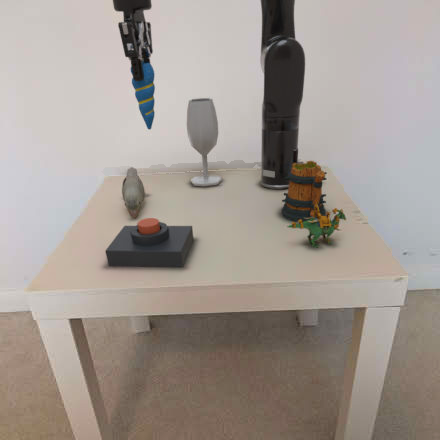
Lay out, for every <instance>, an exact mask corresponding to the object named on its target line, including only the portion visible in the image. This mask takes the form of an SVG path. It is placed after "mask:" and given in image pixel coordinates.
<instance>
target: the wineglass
mask: <svg viewBox="0 0 440 440" xmlns="http://www.w3.org/2000/svg"><path fill="white" fill-rule="evenodd" d="M213 100H214V99H213V98H210V97H197V98H196V97H195V98H191V99H188V103H187V109H186V133H187V138H188V141H189V144H190V146H191V147H192V148H193V149H195V151H196V152H197V153H199V154H200V155H201V161H202V162H201V163H202V174H199V175H195V176H194V177H192V178H191V179H190V183H191V184H192V185H193V187H211V186H217V185H219V184H220V183H221V182H222V177H221V176H220V175H218V174H209V166H208V154H209V153H210V152H212V150H213V149H214V148H215V147H216V146H217V143H218V138H219V122H218V117H217V115H218V114H217V110H216V107H215V103H214V101H213Z"/></svg>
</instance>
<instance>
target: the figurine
mask: <svg viewBox="0 0 440 440" xmlns="http://www.w3.org/2000/svg"><path fill="white" fill-rule="evenodd" d="M316 208H317V210H316ZM314 209H315V211H313V212H314V214H315V215H316V216H315V217H310V218H305V219H310V220H308V221H305V222H302V220H299V221H298V222H297V223H296V222H295V221H292V222H291V224H289V225H287V226H286V228H290V229H303V230H304V229H305V230H308V232H309V234H308V235H307V240H308V242H307V243H308V245H309V244H311V248H313V247H314V248H319V245H318V244H316V243H315V242H316V241H317V240H319V239H320V238H321V236H322V238H323V239H324V241H325V242H326V243H327V244H328V245H333V242H331V241H330V237H331V236H332V234H333V233H334V232H335V231H342V230H343V228H342V229H341V228H339V227H340V221H341V220H343V221H346V220H347V218H346V214H345V212H344V209H342V208H341V209H338V207H334V209H332V210H331V211H332V213H333V215H334V216H333V218H332V220H331V218H330V215H331V212H330V211H326V212H325V216H321V214H320V213H319V207H318V205H316V204H315V205H314Z"/></svg>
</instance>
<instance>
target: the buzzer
mask: <svg viewBox="0 0 440 440" xmlns="http://www.w3.org/2000/svg"><path fill="white" fill-rule="evenodd" d="M159 224H160V231H158V232H156V233H152V234H141V233H139V230H138V225H137V224H136V225H124V226H123V227H122V229H121V230H120V231H119V232H118V234H117V235H116V236H115V237H114V239H113V240H112V241H111V243H110V244H108V246H107V248H106V249H105V251H104V252H105V256H106V260H107V264H108V266H109V267H147V268H149V267H150V268H151V267H152V268H155V267H156V268H183V267H184V265H185V262H186V260H187V258H188V255H189V253H190V250H191V248H192V245H193V243H194V229H193V225H167V223H165V222H162V221H159Z"/></svg>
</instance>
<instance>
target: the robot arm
mask: <svg viewBox="0 0 440 440" xmlns="http://www.w3.org/2000/svg"><path fill="white" fill-rule="evenodd" d="M295 4H296V0H260V9H261V39H260V60H259V61H260V68H261V70H262V73H263V98H262V104H261V153H260V154H261V155H260V156H261V159H260V160H261V162H260V163H261V165H260V167H261V168H260V169H261V171H260V172H261V173H260V185H261V186H262V187H264V188H267V189H271V190H272V189H273V190H282V189H288V188H289V182H290V180H287V179H284V178H285V177H288V175H289V174H287V173H286V172H291V169H292V164H293V163H298V164H302V163H304V161H298V160H299V133H300V132H299V131H300V114H301V105H302V102H303V98H304V87H305V74H306V54H305V50H304V48H303V45H302V44H301V43H300V42H299V41H298V40H297V39H296V27H295V26H296V25H295ZM112 5H113V10H115V12H117V13H118V12H119V13H121V12H122V13H123V21H119V22H118V23H117V25H118V29H119V34H120V39H121V43H122V47H123V48H122V49H123V52H124V56H125V58H128V60H129V61H130V68H131V67H132V73H133V75H132V78H133V79H134V80H135V81H142V80H144V72H143V65H142V60H141V59H142V58H143V59H144V63H150V64H151V57H152V55H153V52H154V50H153V39H152V24H151V22H150V21H146V18H145V14H144V11H149V10H151V9H152V6H153V5H152V0H112ZM142 56H143V57H142ZM132 73H131V74H132Z"/></svg>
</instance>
